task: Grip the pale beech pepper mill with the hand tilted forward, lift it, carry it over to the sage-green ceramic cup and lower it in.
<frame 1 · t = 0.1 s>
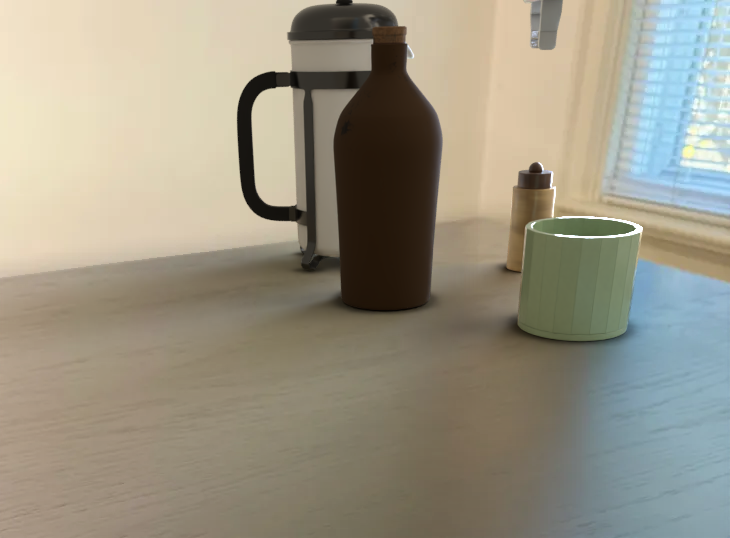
hand: (541, 49, 100), 23 cm above the table, tool pointing down, fingers open, 8 cm apart
pepper mill: (526, 267, 105), on the table
olive oil: (386, 301, 94), on the table
coffee press: (336, 262, 110), on the table
cup: (571, 325, 84), on the table
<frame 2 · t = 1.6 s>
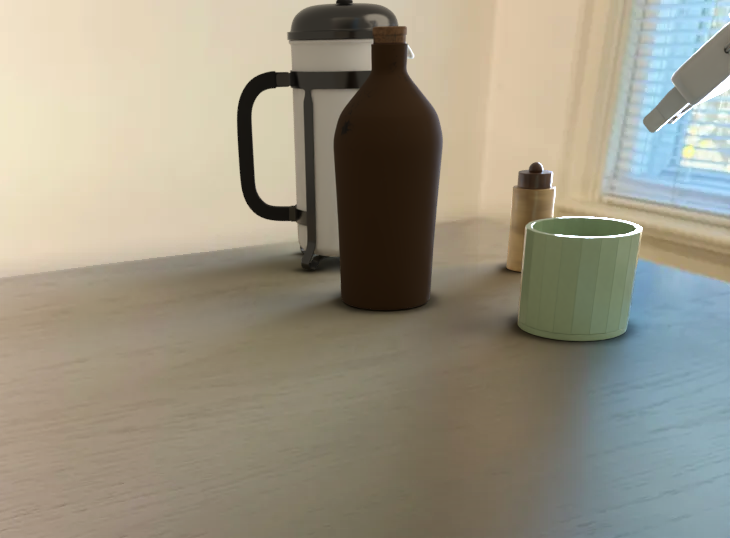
hand: (656, 123, 92), 16 cm above the table, tool tilted 45°, fingers open, 8 cm apart
nothing on the table moved.
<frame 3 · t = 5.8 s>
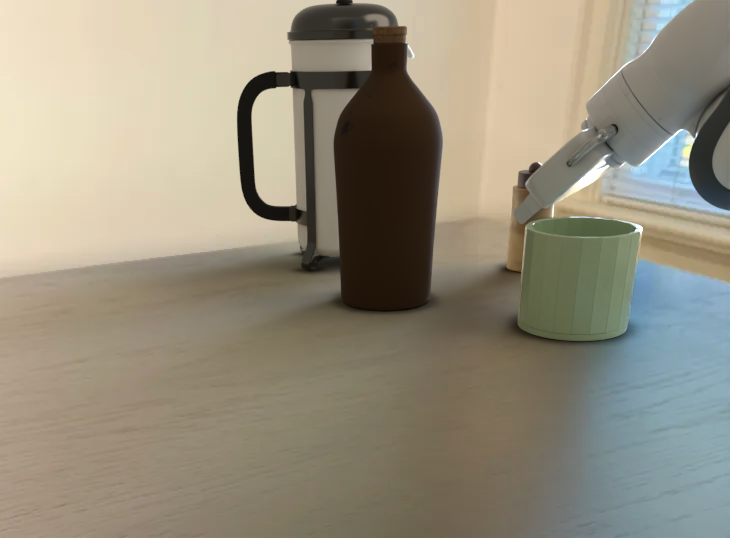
hand: (526, 213, 103), 6 cm above the table, tool tilted 45°, fingers closed on pepper mill, 5 cm apart
pepper mill: (526, 267, 105), on the table, touching gripper
everything else where it was.
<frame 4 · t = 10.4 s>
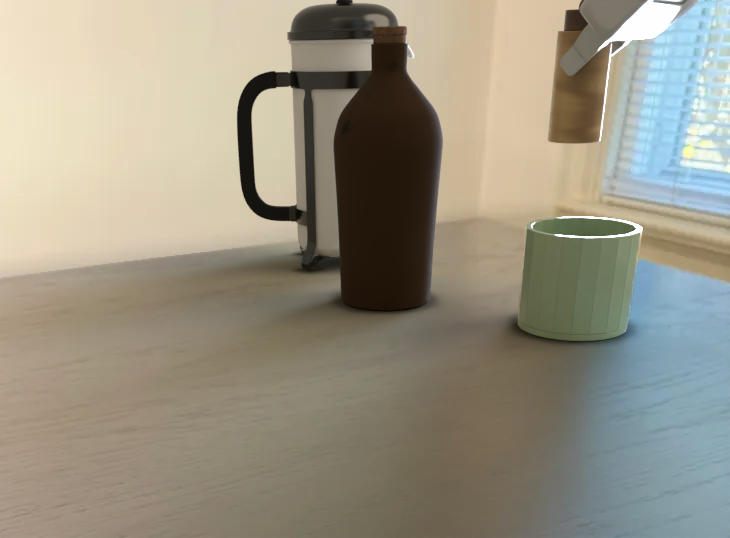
hand: (575, 68, 81), 21 cm above the table, tool tilted 45°, fingers closed on pepper mill, 5 cm apart
pepper mill: (573, 140, 83), point 15 cm above the table, touching gripper
everything else where it was.
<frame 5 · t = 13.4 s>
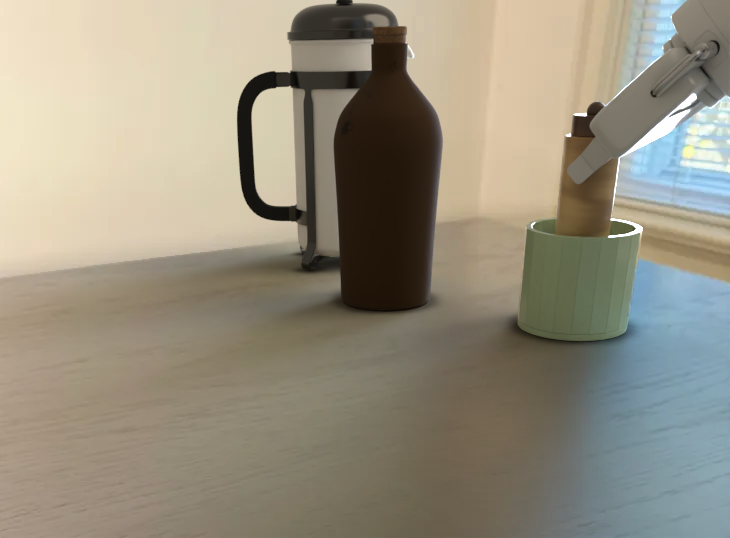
hand: (582, 172, 78), 14 cm above the table, tool tilted 45°, fingers closed on pepper mill, 5 cm apart
pepper mill: (580, 243, 80), point 8 cm above the table, touching gripper
everything else where it was.
when the fingers open (9 cm above the table, at t = 16.1 s): pepper mill stays where it is, resting on cup.
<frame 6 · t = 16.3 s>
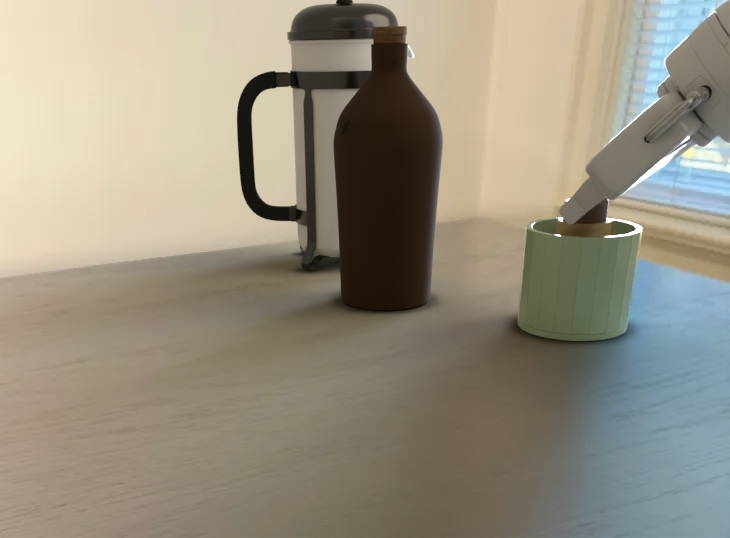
hand: (579, 208, 79), 11 cm above the table, tool tilted 45°, fingers open, 8 cm apart
pepper mill: (572, 318, 84), point 1 cm above the table, touching cup
everything else where it was.
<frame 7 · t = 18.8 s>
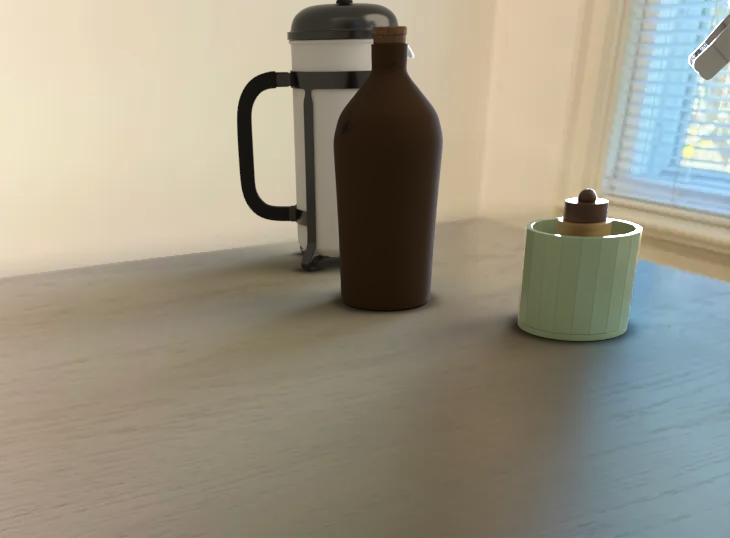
hand: (695, 70, 69), 21 cm above the table, tool tilted 45°, fingers open, 8 cm apart
nothing on the table moved.
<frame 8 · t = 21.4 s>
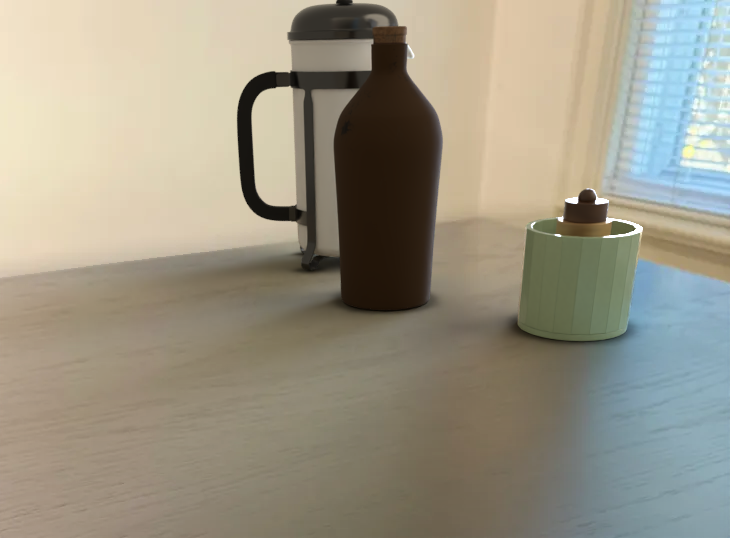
nothing on the table moved.
at the end: pepper mill inside the target area in the cup (0.1 cm from its centre), point 0.6 cm above the cup's base; the gripper is holding nothing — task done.
